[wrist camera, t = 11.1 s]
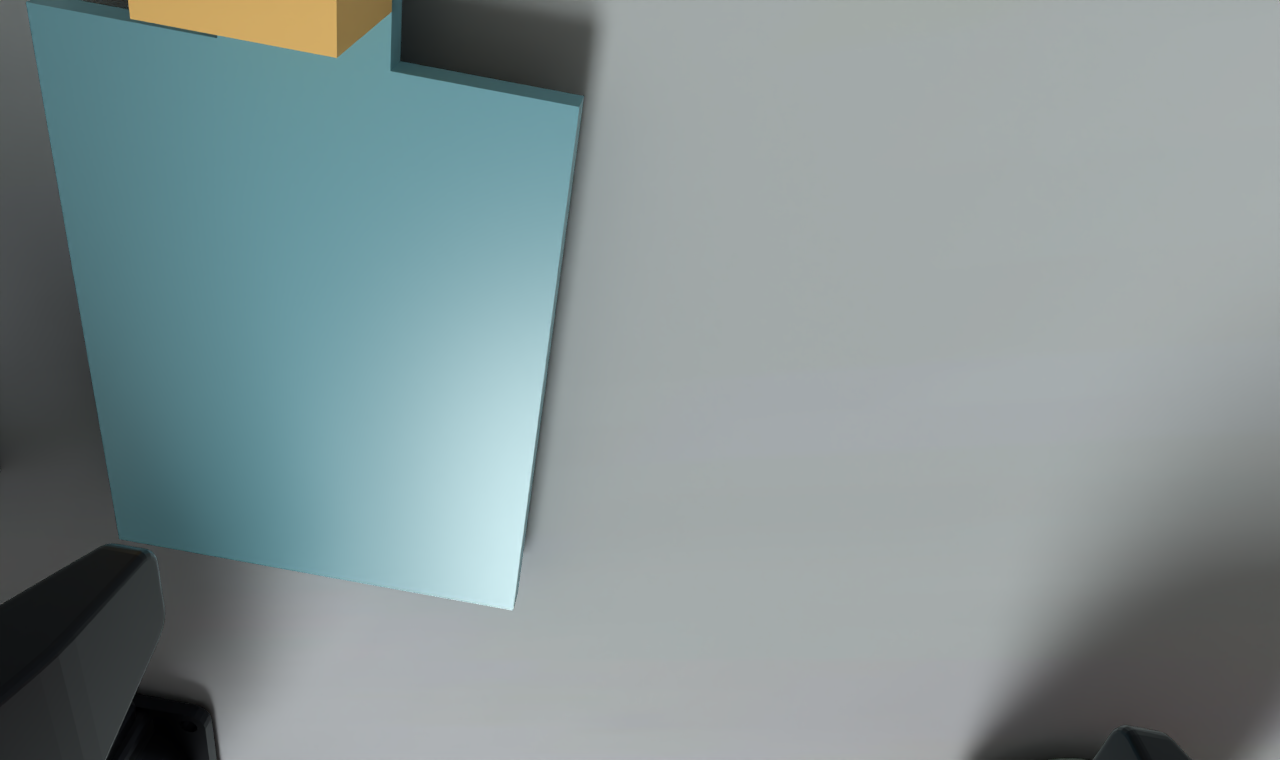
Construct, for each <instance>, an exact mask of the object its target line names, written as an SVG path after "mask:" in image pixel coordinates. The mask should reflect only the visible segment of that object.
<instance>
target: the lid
mask: <svg viewBox="0 0 1280 760" xmlns="http://www.w3.org/2000/svg"><path fill="white" fill-rule="evenodd" d="M128 5H129V10H128V9H123V8H118V7H113V6H107V5H102V4H97V3H92V2H86V1H81V0H30V1H27V2H26V6H27V12H28V17H29V23H30V29H31V35H32V40H33V46H34V52H35V58H36V63H37V69H38V75H39V81H40V86H41V92H42V98H43V104H44V109H45V115H46V121H47V127H48V132H49V138H50V144H51V149H52V155H53V161H54V167H55V172H56V178H57V184H58V190H59V195H60V201H61V207H62V213H63V218H64V224H65V230H66V236H67V241H68V247H69V253H70V259H71V264H72V270H73V276H74V282H75V287H76V293H77V299H78V305H79V310H80V316H81V322H82V328H83V333H84V339H85V345H86V351H87V356H88V362H89V368H90V374H91V379H92V385H93V391H94V397H95V402H96V408H97V414H98V420H99V425H100V431H101V437H102V443H103V448H104V454H105V460H106V466H107V471H108V477H109V483H110V489H111V494H112V500H113V506H114V512H115V517H116V523H117V529H118V535H119V539H121V540H126V541H132V542H137V543H143V544H148V545H154V546H159V547H165V548H170V549H176V550H182V551H187V552H193V553H198V554H204V555H209V556H215V557H220V558H226V559H231V560H237V561H242V562H248V563H253V564H259V565H264V566H270V567H275V568H281V569H286V570H292V571H297V572H303V573H309V574H314V575H320V576H325V577H331V578H336V579H342V580H347V581H353V582H358V583H364V584H369V585H375V586H380V587H386V588H391V589H397V590H402V591H408V592H413V593H419V594H424V595H430V596H436V597H441V598H447V599H452V600H458V601H463V602H469V603H474V604H480V605H485V606H491V607H496V608H502V609H507V610H513V609H514V605H515V601H516V598H517V594H518V587H519V580H520V572H521V565H522V557H523V550H524V542H525V535H526V528H527V520H528V513H529V505H530V498H531V490H532V483H533V475H534V468H535V460H536V453H537V445H538V438H539V430H540V423H541V415H542V408H543V400H544V393H545V385H546V378H547V370H548V363H549V355H550V348H551V340H552V333H553V325H554V318H555V310H556V303H557V295H558V288H559V280H560V273H561V266H562V258H563V251H564V243H565V236H566V228H567V221H568V213H569V206H570V198H571V191H572V183H573V176H574V168H575V161H576V153H577V146H578V138H579V131H580V123H581V116H582V108H583V101H584V96H581V95H576V94H570V93H565V92H560V91H555V90H549V89H544V88H539V87H534V86H528V85H523V84H518V83H513V82H507V81H502V80H497V79H492V78H486V77H481V76H476V75H470V74H465V73H460V72H455V71H449V70H444V69H439V68H434V67H428V66H423V65H418V64H413V63H407V62H402V61H400V54H401V19H402V0H128Z"/></svg>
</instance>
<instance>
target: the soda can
mask: <svg viewBox="0 0 1280 760" xmlns="http://www.w3.org/2000/svg"><path fill="white" fill-rule="evenodd" d="M1050 760H1086V759H1067V758H1065V759H1050Z"/></svg>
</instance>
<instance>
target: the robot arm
mask: <svg viewBox="0 0 1280 760" xmlns="http://www.w3.org/2000/svg"><path fill="white" fill-rule="evenodd" d="M164 620H165V607H164V600H163V593H162V587H161V580H160V574H159V567H158V562H157V558H156V556H155V555H154V553H153V552H152V551H150V550H147V549H143V548H137V547H132V546H126V545H121V544H107V545H104V546H101V547H99V548H97V549H95V550H93V551H92V552H90V553H88V554H87V555H85V556H83V557H81V558H80V559H78V560H76V561H75V562H73V563H71V564H70V565H68V566H66V567H64V568H63V569H61V570H59V571H58V572H56V573H54V574H52V575H51V576H49V577H47V578H46V579H44V580H42V581H41V582H39V583H37V584H35V585H34V586H32V587H30V588H29V589H27V590H25V591H24V592H22V593H20V594H18V595H17V596H15V597H13V598H12V599H10V600H8V601H6V602H5V603H3V604H1V605H0V760H217V758H216V750H215V742H214V734H213V726H212V718H211V716H210V714H209V713H208V712H207V711H206V710H205V709H204V708H202V707H200V706H197V705H194V704H188V703H183V702H177V701H171V700H166V699H160V698H154V697H149V696H143V695H137V694H135V693H136V690H137V688H138V686H139V684H140V681H141V679H142V677H143V674H144V672H145V670H146V668H147V665H148V663H149V661H150V659H151V656H152V654H153V652H154V650H155V647H156V645H157V643H158V641H159V638H160V636H161V633H162V629H163V626H164ZM1093 760H1191V759H1190V758H1189V756H1188V755H1187V754H1186V753H1185V752H1184V751H1183V750H1182V749H1181V748H1180V747H1179V746H1178V745H1177V744H1176V742H1175V741H1173V740H1172V739H1171V738H1170V737H1169V736H1168V735H1166V734H1164V733H1162V732H1160V731H1156V730H1150V729H1145V728H1139V727H1134V726H1128V725H1123V726H1120V727H1118V728H1116V729H1114V730H1113V731H1112V733H1111V734H1110V735H1109V737H1108V738H1107V740H1106V741H1105V743H1104V744H1103V746H1102V747H1101V749H1100V750H1099V752H1098V753H1097V755H1096V756H1095V758H1094V759H1093Z"/></svg>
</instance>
